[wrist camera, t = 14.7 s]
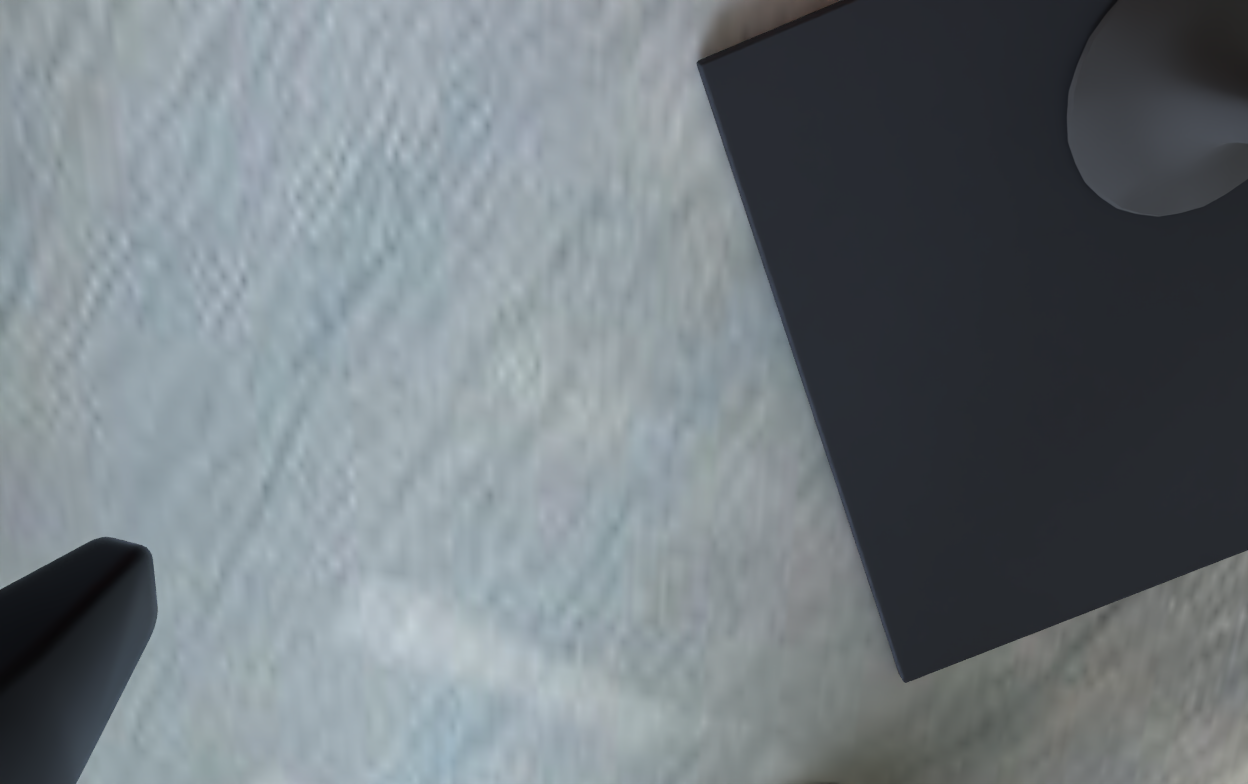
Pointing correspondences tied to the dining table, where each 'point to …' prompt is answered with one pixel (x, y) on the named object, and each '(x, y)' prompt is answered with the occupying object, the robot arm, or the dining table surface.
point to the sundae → (1163, 104)
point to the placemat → (988, 318)
